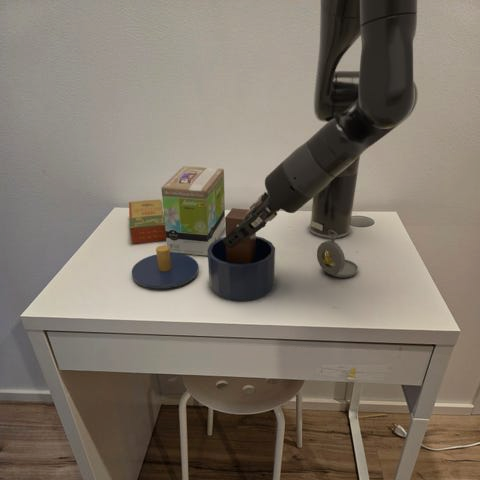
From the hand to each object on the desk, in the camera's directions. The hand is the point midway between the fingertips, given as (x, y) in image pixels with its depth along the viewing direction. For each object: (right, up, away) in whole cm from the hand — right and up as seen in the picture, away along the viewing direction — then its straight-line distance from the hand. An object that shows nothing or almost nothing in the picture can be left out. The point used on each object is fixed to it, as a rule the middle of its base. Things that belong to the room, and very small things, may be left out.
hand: (231, 238), depth 80 cm
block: (+2, -4, +2) cm, 4 cm away
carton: (-21, +7, +27) cm, 35 cm away
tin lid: (-13, -5, +9) cm, 17 cm away
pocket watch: (+21, -6, +8) cm, 23 cm away
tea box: (-8, +3, +21) cm, 23 cm away
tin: (+2, -8, +5) cm, 10 cm away
